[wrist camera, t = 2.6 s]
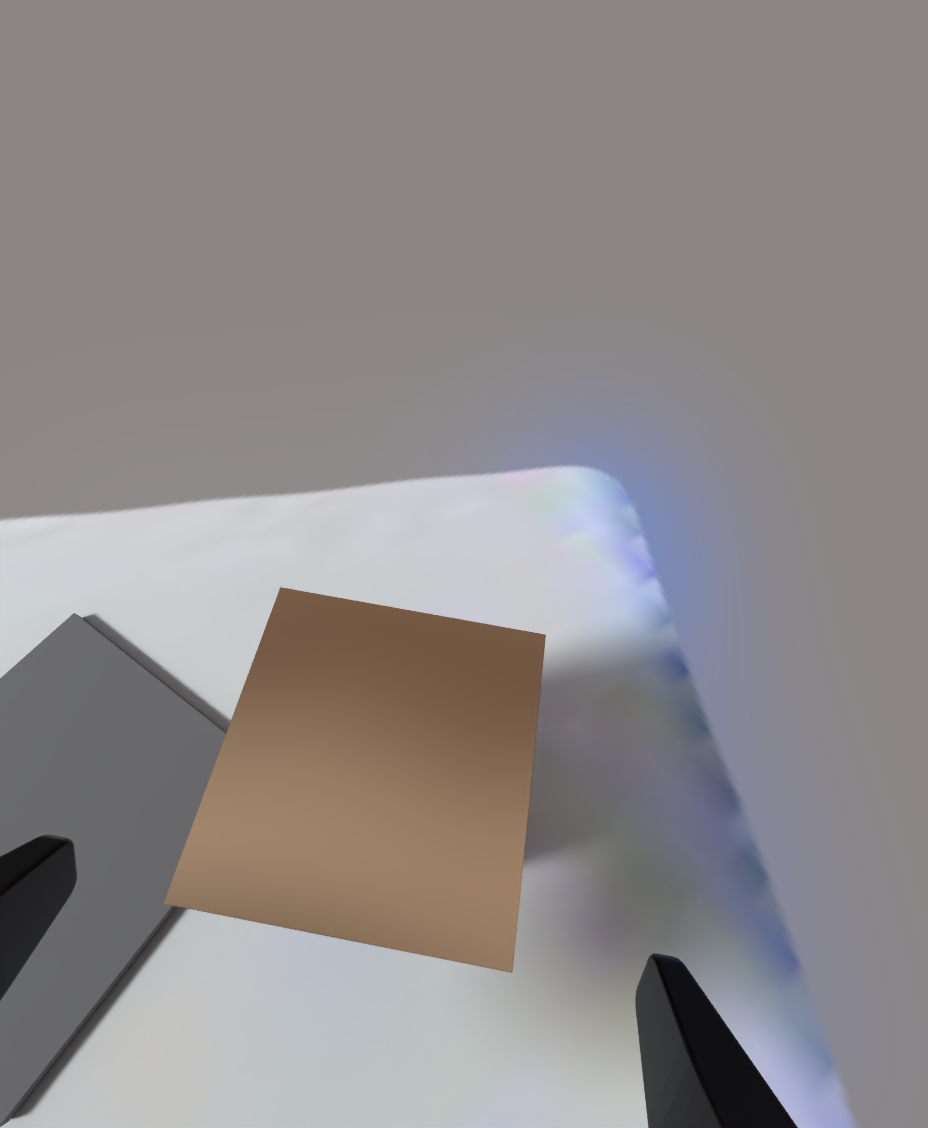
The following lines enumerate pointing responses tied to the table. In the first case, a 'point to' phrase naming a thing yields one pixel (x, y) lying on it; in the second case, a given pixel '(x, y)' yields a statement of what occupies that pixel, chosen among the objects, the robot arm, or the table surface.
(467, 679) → the walnut block
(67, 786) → the mat
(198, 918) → the table surface
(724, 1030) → the robot arm
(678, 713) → the table surface
